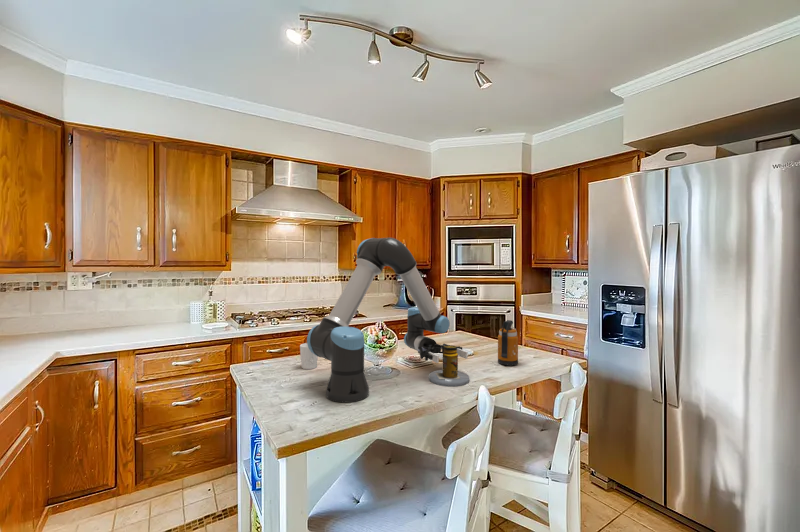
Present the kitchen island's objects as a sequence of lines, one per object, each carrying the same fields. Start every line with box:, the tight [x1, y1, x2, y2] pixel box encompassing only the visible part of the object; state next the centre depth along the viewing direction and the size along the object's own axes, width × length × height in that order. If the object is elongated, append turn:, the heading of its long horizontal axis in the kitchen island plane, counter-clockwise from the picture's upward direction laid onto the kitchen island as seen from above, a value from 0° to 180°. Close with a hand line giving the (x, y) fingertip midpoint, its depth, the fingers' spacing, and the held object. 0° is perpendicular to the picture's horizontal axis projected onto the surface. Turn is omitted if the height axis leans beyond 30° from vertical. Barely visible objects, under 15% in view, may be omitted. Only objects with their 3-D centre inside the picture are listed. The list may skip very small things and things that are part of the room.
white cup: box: [299, 342, 319, 370], centre depth 167 cm, size 8×8×10 cm
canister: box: [497, 319, 519, 367], centre depth 172 cm, size 9×11×20 cm
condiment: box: [436, 344, 460, 379], centre depth 150 cm, size 7×8×12 cm
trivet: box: [428, 369, 470, 387], centre depth 151 cm, size 16×16×2 cm
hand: (452, 357), depth 149 cm, fingers open, 13 cm apart
